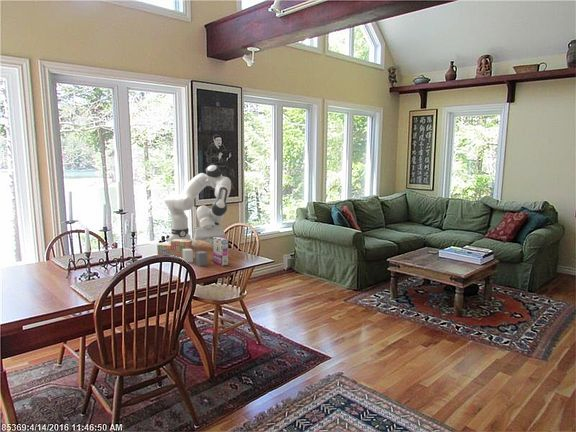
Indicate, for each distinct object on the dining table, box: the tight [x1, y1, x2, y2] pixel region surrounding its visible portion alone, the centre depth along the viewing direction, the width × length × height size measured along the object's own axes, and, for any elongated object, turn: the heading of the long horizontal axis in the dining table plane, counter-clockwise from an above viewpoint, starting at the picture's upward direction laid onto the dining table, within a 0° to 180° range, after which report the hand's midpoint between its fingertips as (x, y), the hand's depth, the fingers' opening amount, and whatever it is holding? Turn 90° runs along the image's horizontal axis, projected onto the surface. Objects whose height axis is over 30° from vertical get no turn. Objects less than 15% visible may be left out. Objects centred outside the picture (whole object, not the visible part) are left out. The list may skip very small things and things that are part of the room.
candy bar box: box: [213, 237, 229, 267], centre depth 255 cm, size 11×5×16 cm, turn 38°
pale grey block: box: [182, 248, 194, 264], centre depth 259 cm, size 5×5×8 cm
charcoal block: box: [195, 250, 208, 267], centre depth 252 cm, size 5×5×8 cm
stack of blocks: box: [156, 239, 193, 258], centre depth 267 cm, size 21×6×12 cm, turn 85°
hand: (212, 243), depth 265 cm, fingers closed
